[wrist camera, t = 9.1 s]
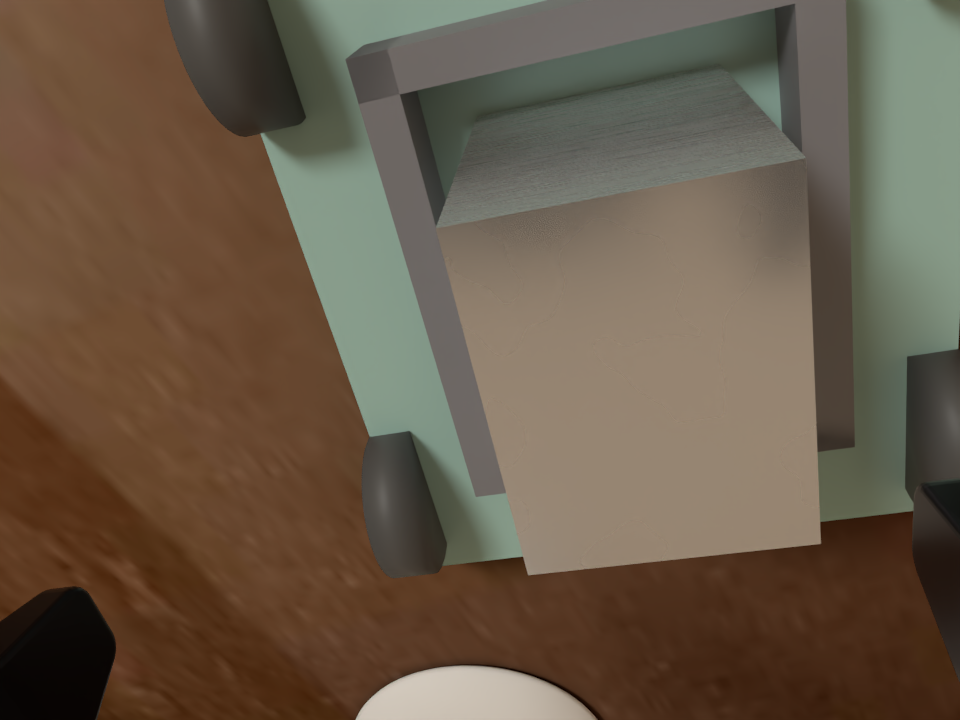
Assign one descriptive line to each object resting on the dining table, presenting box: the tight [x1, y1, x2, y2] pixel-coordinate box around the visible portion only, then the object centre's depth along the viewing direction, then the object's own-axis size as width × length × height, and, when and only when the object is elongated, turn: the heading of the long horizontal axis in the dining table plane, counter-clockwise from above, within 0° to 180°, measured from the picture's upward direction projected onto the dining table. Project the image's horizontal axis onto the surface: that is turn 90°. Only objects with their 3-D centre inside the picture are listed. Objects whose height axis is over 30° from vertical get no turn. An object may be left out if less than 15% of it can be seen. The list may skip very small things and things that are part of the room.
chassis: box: [164, 0, 960, 578], centre depth 16 cm, size 16×13×4 cm
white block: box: [436, 64, 821, 575], centre depth 14 cm, size 6×4×6 cm
